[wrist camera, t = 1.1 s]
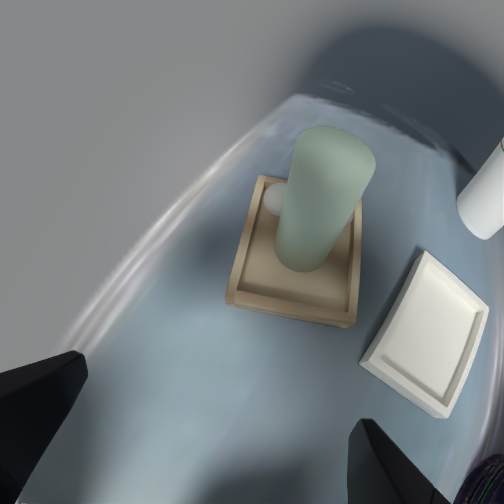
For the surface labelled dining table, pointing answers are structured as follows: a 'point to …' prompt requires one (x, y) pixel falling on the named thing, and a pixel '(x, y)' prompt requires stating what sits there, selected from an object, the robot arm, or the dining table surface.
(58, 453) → the dining table surface
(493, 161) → the cylindrical container
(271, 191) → the pebble
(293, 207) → the sage green tall cylinder
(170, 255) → the dining table surface
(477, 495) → the storage jar
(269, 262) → the wooden tray
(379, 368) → the white tray
